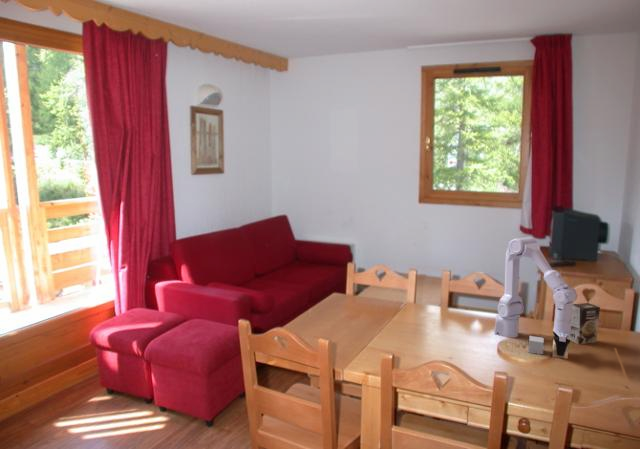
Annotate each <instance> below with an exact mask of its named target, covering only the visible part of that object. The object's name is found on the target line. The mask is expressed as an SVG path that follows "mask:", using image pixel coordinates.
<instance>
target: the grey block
mask: <svg viewBox="0 0 640 449" xmlns="http://www.w3.org/2000/svg"><path fill="white" fill-rule="evenodd" d="M528 341H529V342H528V353H529V354H534V353H537V354H536V355H540V354H543V353H544V343H545V342H544V337H540V336H534V335H529V340H528Z"/></svg>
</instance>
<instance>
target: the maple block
mask: <svg viewBox="0 0 640 449" xmlns="http://www.w3.org/2000/svg"><path fill="white" fill-rule="evenodd" d="M551 353H552V357H553V358H559V359H560V358H561V359H564V360H568V358H569V357H568V356H569V345H568V346H567V348H566V350H565V354H564V356H558V355H557V349H556V343H555V341H554V338H553V339H552V352H551Z"/></svg>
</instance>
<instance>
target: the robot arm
mask: <svg viewBox="0 0 640 449" xmlns="http://www.w3.org/2000/svg"><path fill="white" fill-rule="evenodd" d="M507 245H508V246H507V249H506V252H505V263H504V292H503V293H504V294H503V295H502V297H500V299H499V302H498V305H497V313H498V314H496V315H495V323H494V328H493V330H494V336H499V337H505V338H512V339H514V338H518V336H519V324H520V317H521V314H523V313H524V309H525V308H524V303H523V298H522V297H521V296H520V295H519V292H520V286H519V285H520V259H522V257H525V258H529V259H531V261H533V263H535V264H536V266H537V267H538V268H539V270H540V271H541V272H542V274H543V280H544V282H545V283H546V284H547V286H548V287H549V290H551V292H552V293H553V294H552V298H553V301H554V303H555V304H554V305H555V309H554V321H553V322H554V323H553V328H552V333H553V335H554V336H553V339H554V341H555V343H556V349H557V355H558V356H564V354H565V350H566V348H567V346H569V344H570V343H571V340H569V339H568V336H569V335H570V334H574V331H573V330H571V320H572V310H573V304H574V302H575V301H576V300H577V298H578V293H577V291H576V289H575V287H572V286H569V284H568V283H567V282H566V281H565V280H564V278H563V277H562V274H561V272H558V270H554V269H553V268H552V267H551V265H550V263H549V262H548V260H547V259H546V257H545V255H544V254H543V252H542V250H541V248H540V244H539V243H538V242H537V239H536V238H534V237H533V236H526V237H521V238H520V237H519V238H513V239H512V240H510V241H509V242H508V244H507Z"/></svg>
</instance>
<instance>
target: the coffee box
mask: <svg viewBox="0 0 640 449" xmlns="http://www.w3.org/2000/svg"><path fill="white" fill-rule="evenodd" d="M600 310H601V307H600V306H598V305H596V304H593V303H590V302H582V303H573V310H572V320H571V330H573V331H574V334H570V335H569V336H568V337H567V339H569V340H570V342H571V341H572V342H574V344H575V343H576V344H577V345H583V344H591V343H597V339H598V338H597V337H598V329H599V319H600Z"/></svg>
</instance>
